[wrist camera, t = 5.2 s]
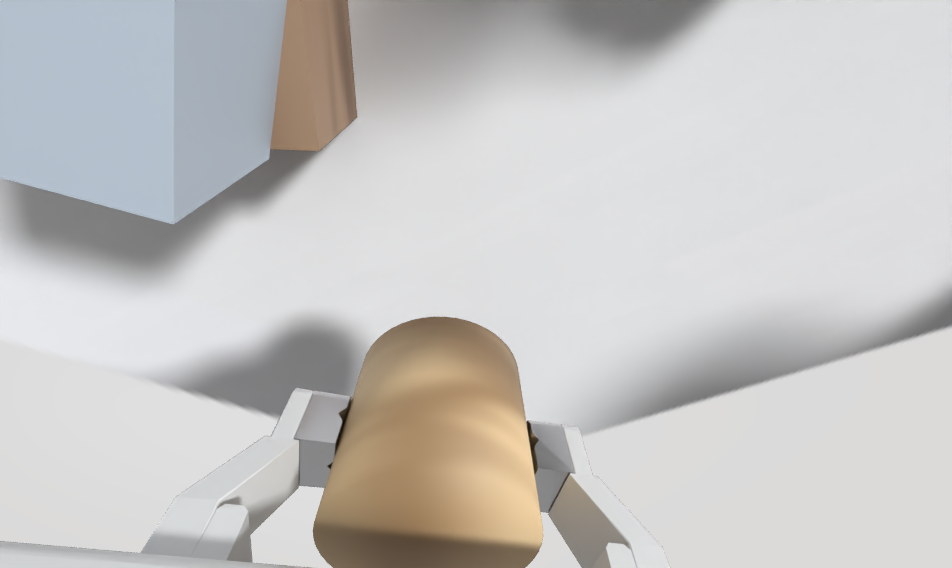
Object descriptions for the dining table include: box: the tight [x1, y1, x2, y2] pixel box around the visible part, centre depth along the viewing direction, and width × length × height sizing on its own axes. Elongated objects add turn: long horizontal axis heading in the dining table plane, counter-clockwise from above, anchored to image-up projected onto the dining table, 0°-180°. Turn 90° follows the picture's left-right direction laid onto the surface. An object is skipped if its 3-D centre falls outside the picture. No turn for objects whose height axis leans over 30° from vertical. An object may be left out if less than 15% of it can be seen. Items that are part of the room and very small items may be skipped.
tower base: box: [270, 0, 357, 151], centre depth 13 cm, size 7×7×6 cm
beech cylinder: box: [313, 317, 543, 568], centre depth 11 cm, size 5×5×5 cm
